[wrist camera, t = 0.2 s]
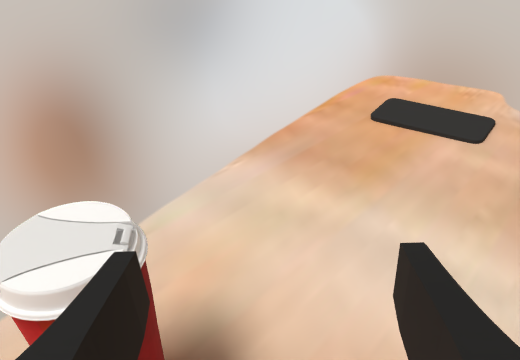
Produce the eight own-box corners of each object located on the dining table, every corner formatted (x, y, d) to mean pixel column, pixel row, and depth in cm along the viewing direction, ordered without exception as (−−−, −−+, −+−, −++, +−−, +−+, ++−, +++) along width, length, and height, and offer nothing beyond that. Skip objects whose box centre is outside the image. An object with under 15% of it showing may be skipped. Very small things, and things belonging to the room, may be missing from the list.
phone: (480, 142, 59) (367, 116, 67) (479, 148, 59) (367, 121, 67) (497, 118, 64) (390, 96, 72) (496, 124, 64) (389, 102, 72)
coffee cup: (189, 349, 37) (151, 189, 29) (182, 460, 30) (129, 289, 22) (80, 361, 37) (10, 203, 29) (48, 474, 30) (-56, 309, 22)
